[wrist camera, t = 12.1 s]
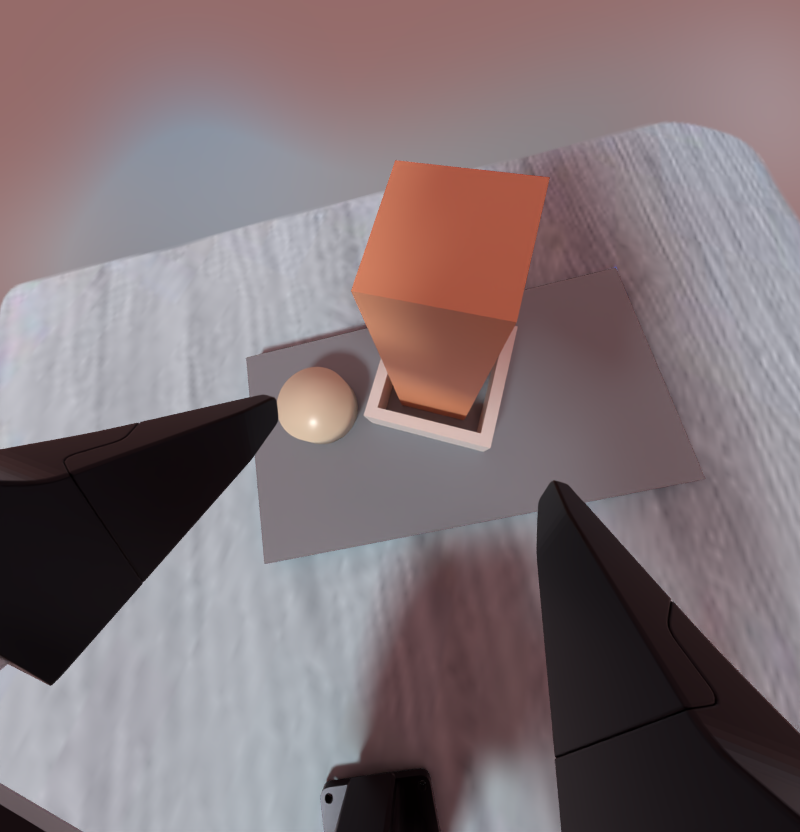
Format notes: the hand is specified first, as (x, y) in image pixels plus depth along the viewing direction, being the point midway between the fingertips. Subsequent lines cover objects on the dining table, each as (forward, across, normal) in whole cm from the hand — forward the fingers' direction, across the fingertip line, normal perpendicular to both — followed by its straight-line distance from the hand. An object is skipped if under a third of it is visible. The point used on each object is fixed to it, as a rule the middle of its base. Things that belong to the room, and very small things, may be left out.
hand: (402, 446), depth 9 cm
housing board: (+11, -1, +5) cm, 12 cm away
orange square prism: (+12, 0, +3) cm, 12 cm away
